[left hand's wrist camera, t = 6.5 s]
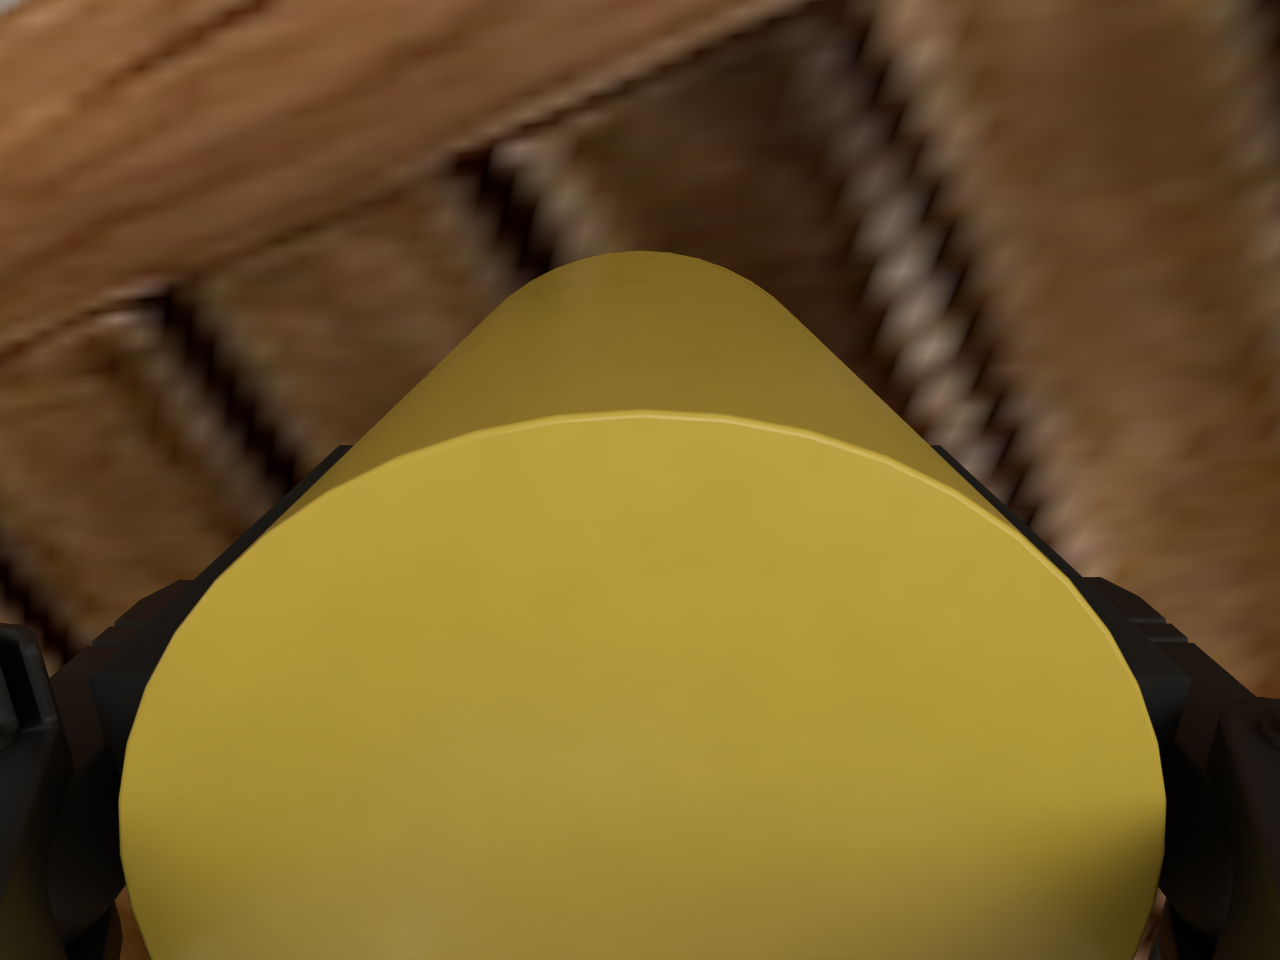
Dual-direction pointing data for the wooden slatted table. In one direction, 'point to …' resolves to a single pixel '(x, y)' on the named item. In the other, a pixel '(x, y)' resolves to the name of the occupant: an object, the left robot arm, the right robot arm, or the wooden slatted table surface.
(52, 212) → the wooden slatted table surface
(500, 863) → the canister
